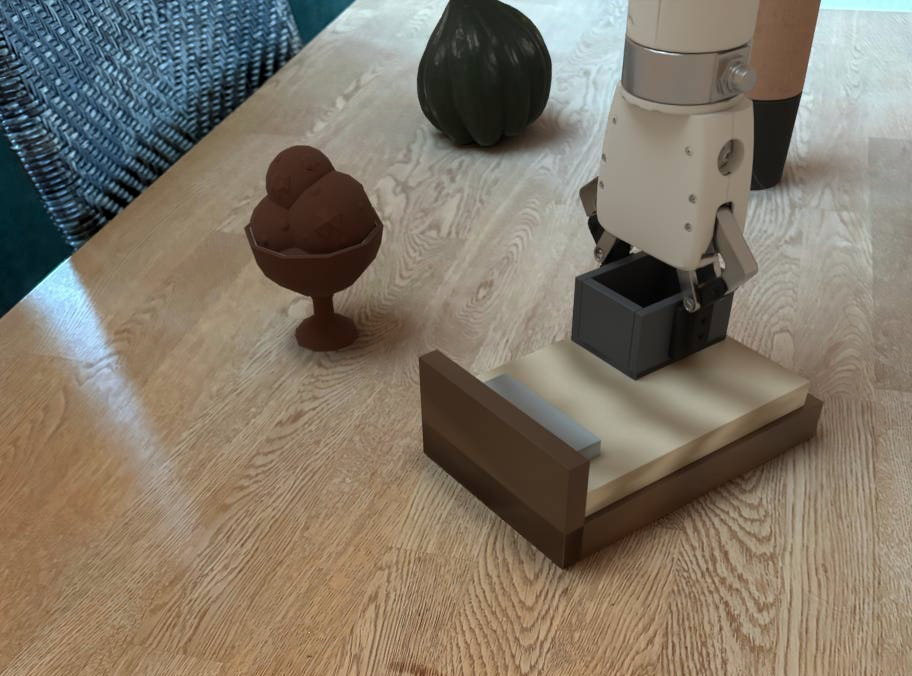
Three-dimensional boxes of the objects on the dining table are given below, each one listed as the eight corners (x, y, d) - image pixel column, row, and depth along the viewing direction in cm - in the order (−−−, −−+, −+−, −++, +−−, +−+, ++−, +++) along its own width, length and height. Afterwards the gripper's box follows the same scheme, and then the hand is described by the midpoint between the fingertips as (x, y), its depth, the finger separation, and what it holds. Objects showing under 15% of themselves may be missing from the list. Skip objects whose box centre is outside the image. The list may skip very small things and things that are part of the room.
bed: (662, 345, 84) (675, 252, 78) (814, 436, 75) (842, 338, 69) (423, 452, 75) (418, 356, 70) (562, 569, 66) (570, 470, 60)
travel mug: (707, 160, 109) (741, -61, 95) (780, 161, 108) (826, -62, 94) (710, 190, 104) (747, -39, 90) (787, 192, 103) (837, -39, 89)
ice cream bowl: (242, 358, 85) (206, 176, 74) (298, 294, 92) (273, 120, 81) (358, 378, 82) (339, 192, 72) (407, 311, 90) (397, 132, 79)
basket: (659, 302, 79) (668, 240, 76) (725, 339, 75) (738, 275, 72) (570, 340, 76) (574, 276, 72) (634, 381, 72) (642, 316, 68)
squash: (594, 90, 110) (537, -50, 107) (482, 130, 105) (419, -16, 102) (532, 149, 123) (480, 26, 120) (430, 187, 118) (374, 60, 115)
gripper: (839, 92, 59) (774, 364, 71) (633, 21, 69) (608, 272, 81) (747, 124, 56) (697, 402, 69) (546, 45, 66) (535, 301, 79)
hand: (649, 329), depth 75 cm, fingers closed on basket, 7 cm apart
